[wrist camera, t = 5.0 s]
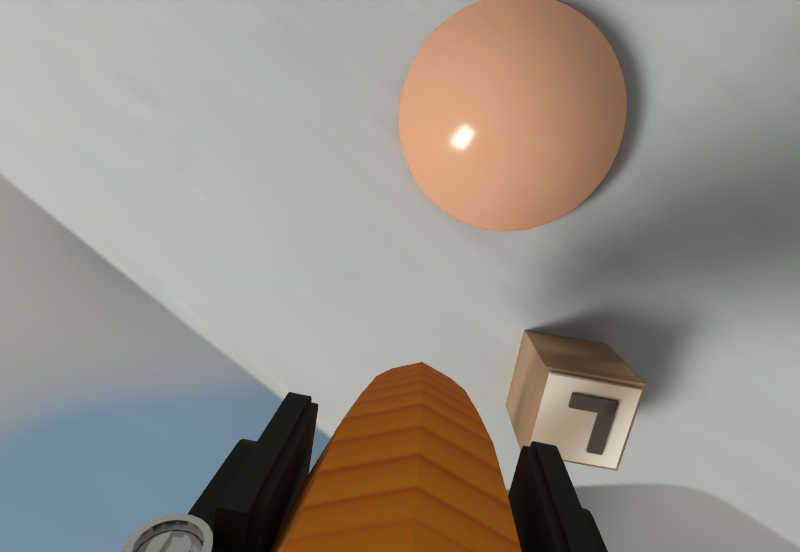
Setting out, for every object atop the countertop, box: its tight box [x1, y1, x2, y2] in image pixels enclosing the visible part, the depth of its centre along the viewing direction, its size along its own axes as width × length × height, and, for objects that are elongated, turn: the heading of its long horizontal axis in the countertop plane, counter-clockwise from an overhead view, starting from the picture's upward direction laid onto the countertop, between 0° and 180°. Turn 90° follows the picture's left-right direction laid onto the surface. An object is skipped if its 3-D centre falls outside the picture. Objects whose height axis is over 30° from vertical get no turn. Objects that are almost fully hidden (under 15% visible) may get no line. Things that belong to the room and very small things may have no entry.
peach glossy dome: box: [399, 0, 627, 231], centre depth 19 cm, size 9×9×1 cm
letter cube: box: [506, 330, 646, 471], centre depth 21 cm, size 4×4×4 cm
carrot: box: [270, 362, 522, 552], centre depth 9 cm, size 5×5×15 cm
